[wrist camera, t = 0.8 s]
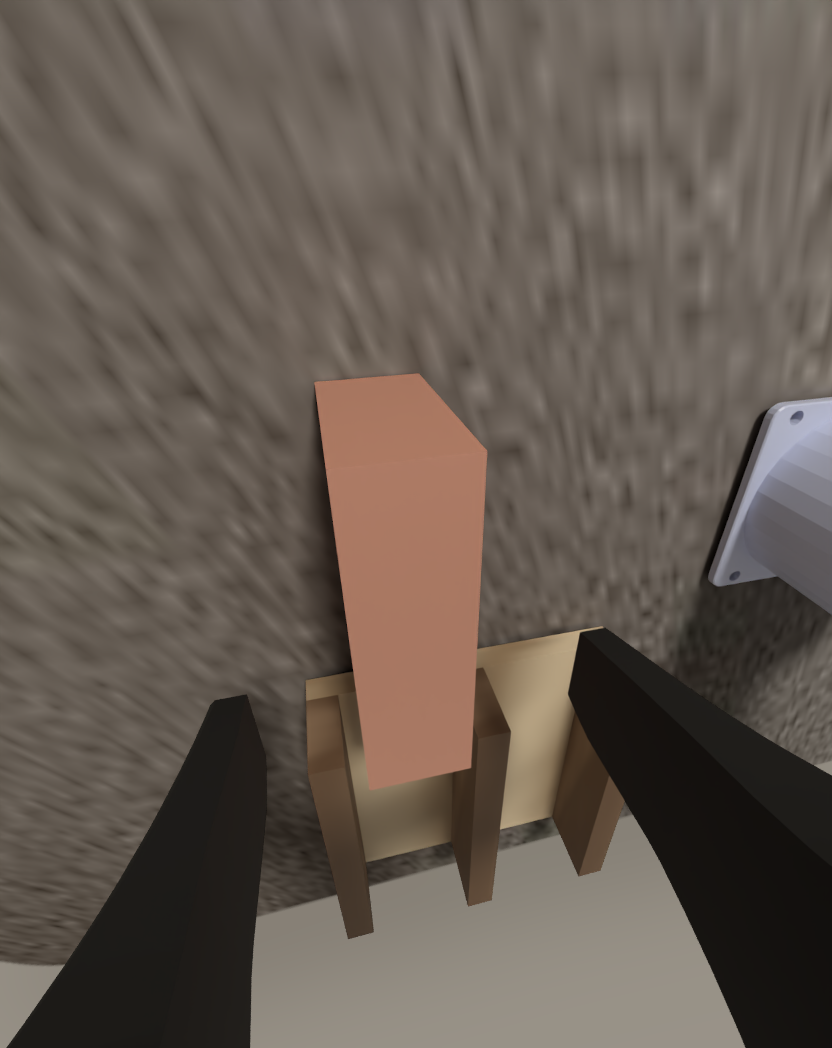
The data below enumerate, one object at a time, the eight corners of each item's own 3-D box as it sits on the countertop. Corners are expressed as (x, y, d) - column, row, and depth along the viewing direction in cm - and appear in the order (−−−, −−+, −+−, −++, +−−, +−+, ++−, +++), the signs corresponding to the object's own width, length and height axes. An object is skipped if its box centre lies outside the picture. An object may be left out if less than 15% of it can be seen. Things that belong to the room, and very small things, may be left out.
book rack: (602, 626, 21) (659, 699, 18) (563, 794, 28) (600, 870, 25) (305, 680, 19) (308, 775, 16) (341, 847, 26) (348, 939, 23)
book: (418, 373, 14) (487, 451, 9) (425, 628, 19) (471, 767, 14) (314, 381, 14) (325, 469, 9) (349, 641, 19) (369, 790, 14)
